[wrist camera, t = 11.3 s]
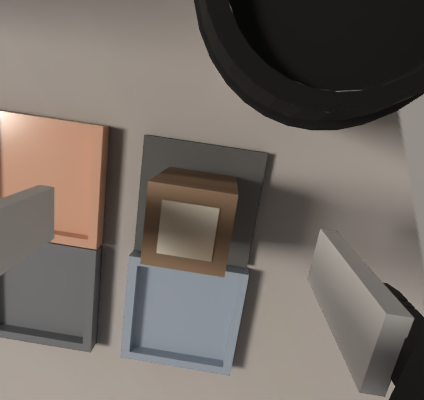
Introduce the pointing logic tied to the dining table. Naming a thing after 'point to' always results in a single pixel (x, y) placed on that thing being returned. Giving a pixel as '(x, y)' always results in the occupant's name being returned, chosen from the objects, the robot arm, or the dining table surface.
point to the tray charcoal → (53, 297)
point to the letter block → (189, 221)
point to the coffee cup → (318, 57)
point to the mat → (212, 163)
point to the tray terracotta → (58, 170)
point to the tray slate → (182, 316)
